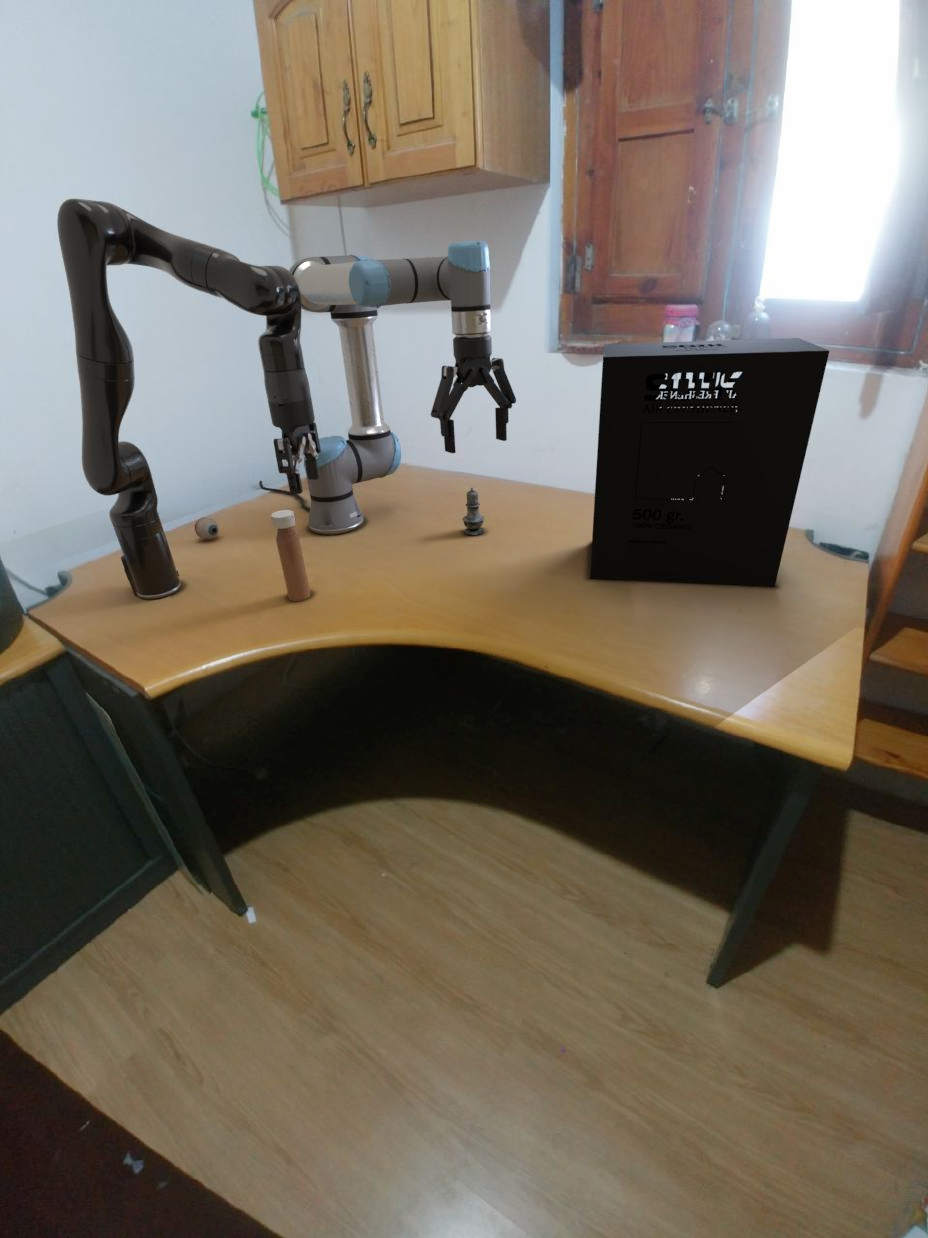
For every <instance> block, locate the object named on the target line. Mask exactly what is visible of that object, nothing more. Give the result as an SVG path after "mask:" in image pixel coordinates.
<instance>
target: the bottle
mask: <svg viewBox="0 0 928 1238" xmlns="http://www.w3.org/2000/svg"><path fill="white" fill-rule="evenodd" d="M275 543H276V548H277V552H278V556H279V561H280V565H281V570H282V575H283V580H284V584H285V588H286V592H287V596H288V600H290V601H292V602H301V601H305V600H307V599H308V598H310V597H311V590H310V583H309V579H308V574H307V569H306V563H305V560H304V559H305V558H304V555H303V551H302V545H301V538H300V534H299V533H298V531H297V529H296V528H295V527H294V526H292V527H289V528H283V529H278V528H276V532H275Z"/></svg>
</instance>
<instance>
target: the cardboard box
mask: <svg viewBox="0 0 928 1238" xmlns="http://www.w3.org/2000/svg"><path fill="white" fill-rule="evenodd" d="M829 356H830V350H829V349H827V348H824V347H822V346H819V345H817V344H815V343H813V342H809V341H808V340H804V339H802V338H799V337H787V338H786V337H785V338H756V339H755V338H753V339H751V338H750V339H724V340H691V341H689V340H688V341H661V342H631V343H604V344H603V353H602V368H601V385H600V386H601V387H600V399H599V400H600V402H599V416H598V417H599V419H598V434H597V436H598V437H597V452H596V467H595V468H596V470H595V487H594V502H593V503H594V504H593V521H592V535H591V536H592V538H591V554H590V569H589V571H590V572H589V578H590V579H600V580H625V581H647V582H665V583H666V582H667V583H668V582H669V583H688V584H689V583H691V584H692V583H693V584H714V585H735V586H755V587H756V586H757V587H759V586H760V587H776V583H777V579H778V575H779V572H780V571H779V570H780V566H781V562H782V557H783V553H784V549H785V545H786V541H787V536H788V532H789V528H790V523H791V519H792V514H793V510H794V506H795V502H796V497H797V493H798V489H799V485H800V480H801V475H802V473H803V472H802V471H803V467H804V464H805V457H806V454H807V449H808V446H809V441H810V437H811V433H812V428H813V425H814V419H815V415H816V411H817V407H818V403H819V398H820V395H821V390H822V385H823V381H824V376H825V373H826V368H827V363H828V360H829ZM735 373H740V374H739V376H738V377H733V375H734V374H735ZM676 374H680V378H678V381H677V387H674V386H675V385H674V384H675V378H673V377H674V375H676ZM687 374H692V378H691V384H694V385H693V387H689V385H690V378H687ZM701 374H703V378H700V376H701ZM718 374H719V378H718ZM722 377H723V382H722ZM717 379H718V383H717ZM722 383H723V384H727V383H729V384H731V383H733V384H732V387H731V386H730V387H726V386H725V387H724V386H723V385H722ZM703 384H708V387H702V385H703ZM662 386H665V387H664V388H663V387H662ZM661 387H662V388H661Z"/></svg>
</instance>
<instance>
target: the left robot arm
mask: <svg viewBox="0 0 928 1238" xmlns="http://www.w3.org/2000/svg"><path fill="white" fill-rule="evenodd" d="M56 221H57V222H56V227H57V236H58V241H59V247H60V252H61V256H62V262H63V267H64V272H65V276H66V281H67V286H68V287H67V288H68V291H69V299H70V307H71V315H72V321H73V322H72V323H73V330H74V331H73V332H74V343H75V355H76V356H75V357H76V365H77V366H76V367H77V374H78V375H77V376H78V381H79V390H80V391H79V392H80V407H81V419H82V420H81V421H82V425H81V427H82V428H81V429H82V430H81V467H82V471H83V474H84V478H85V480H86V482H87V483H88V485H89V486H90V488H91V489H92V490H93V491H94V492H96V493H98V495H102V496H108V497H109V496H115V495H117V498H116V500H115V502H114V504H113V505H112V506H111V508H110V509H109V512H108V515H109V519H110V522H111V525H112V528H113V530H114V532H115V535H116V538H117V541H118V544H119V546H120V550H121V551H122V555H121V557H120V560H121V562H122V566H123V570H124V574H125V576H126V578H127V581H128V583H129V585H130V588H131V590H132V593H133V596H137V597H138V598H139V599H143V600H158V599H162V598H165V597H168V596H171V595H173V594H176V593H177V592H178V591H179V590H180V589H181V588H182V581H181V580H180V574H179V571H178V570H177V567H176V564H175V561H174V558H173V556H172V552H171V549H170V546H169V542H168V540H167V536H166V533H165V530H164V527H163V524H162V521H161V518H160V514H159V511H158V501H159V500H158V495H157V491H156V486H155V483H154V480H153V476H152V471H151V468H150V465H149V462H148V460H147V458H146V456H145V455H144V453H143V452H142V451H141V449H140V448H139V447H138V446H137V445H135V444H134V443H132V442H130V441H125V440H119V439H120V437H119V436H120V429H121V425H122V421H123V419H124V416H125V414H126V412H127V410H128V406H129V404H130V402H131V399H132V397H133V393H134V391H135V390H134V389H135V383H136V379H135V378H136V375H135V374H136V373H135V359H134V358H135V357H134V356H135V355H134V349H133V346H132V343H131V340H130V338H129V336H128V334H127V331H125V328H124V327H123V325H122V324H121V321H120V320H119V319H118V317H117V314H116V313H115V311H114V309H113V306H112V304H111V299H110V295H109V287H108V276H107V275H108V273H107V272H108V271H107V270H108V269H107V268H108V266H123V265H136V266H142V267H149V268H153V269H156V270H159V271H162V272H164V273H166V274H167V275H169V276H171V277H172V278H173V279H175V280H176V281H177V282H179V283H181V284H183V285H184V286H187V287H189V288H191V289H194V290H196V291H199V292H203V293H204V294H206V295H207V294H208V295H210V296H214V297H216V298H218V299H219V298H220V299H222V300H223V299H224V300H225V301H226V302H228V303H230V304H231V305H233V306H235V307H237V308H239V309H241V310H242V311H245V312H246V313H249V314H253V315H255V316H256V315H257V316H260V317H265V322H266V323H265V330H264V331H263V332H262V333H261V334H260V335H259V337H258V339H257V345H258V346H257V347H258V352H259V356H260V361H261V367H262V372H263V382H264V389H265V390H264V391H265V395H266V399H267V404H268V409H269V413H270V419H271V424H272V426H273V427H275V428H278V429H280V430H281V438H280V437H279V438H274V439H273V447H274V453H275V459H276V464H277V469H278V473H279V474H284V475H286V478H287V479H286V480H287V484H288V489H289V491H290V493H292V494H298V495H300V494H302V493H303V491H304V490H303V485H302V479H301V473H300V464H301V463H302V462H303V461H304V459H307V460H305V465H306V471H307V476H308V479H310V480H317V479H318V478H319V477H320V476H319V470H318V464H317V460H316V459H318V453H321V448H320V443H319V439H320V438H319V437H320V436H319V433H318V428H317V423H316V422H315V420H316V418H315V413H314V405H313V399H312V392H311V386H310V381H309V377H308V373H307V371H306V367H305V361H304V355H303V349H302V345H301V333H302V311H303V309H302V305H301V295H300V290H299V287H298V284H297V282H296V280H295V278H294V276H293V275H292V274H291V272H289V269H287V268H286V267H283V266H280V265H257V264H256V265H255V264H251V263H247V262H244V261H241V260H240V259H239V258H238V257H237V256H236V255H235V254H233V253H231V252H229V251H226V250H224V249H221V248H218V247H215V246H212V245H209V244H206V243H202V242H199V241H196V240H193V239H191V238H187V237H184V236H180V235H177V234H173V233H172V232H169V231H166V230H164V229H162V228H160V227H157V226H155V225H154V224H151V223H149V222H147V221H146V220H144V219H142V218H141V217H138V216H137V215H135V214H133V213H131V212H129V211H127V210H126V209H124V208H122V207H120V206H118V205H116V204H114V203H111V202H108V201H102V200H93V199H84V198H68V199H66V200H65V201H63V202H62V203H61V205H60V206H59V209H58V212H57V219H56ZM314 442H315V444H314ZM303 457H304V459H303ZM306 471H305V472H306ZM307 476H306V477H307Z"/></svg>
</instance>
